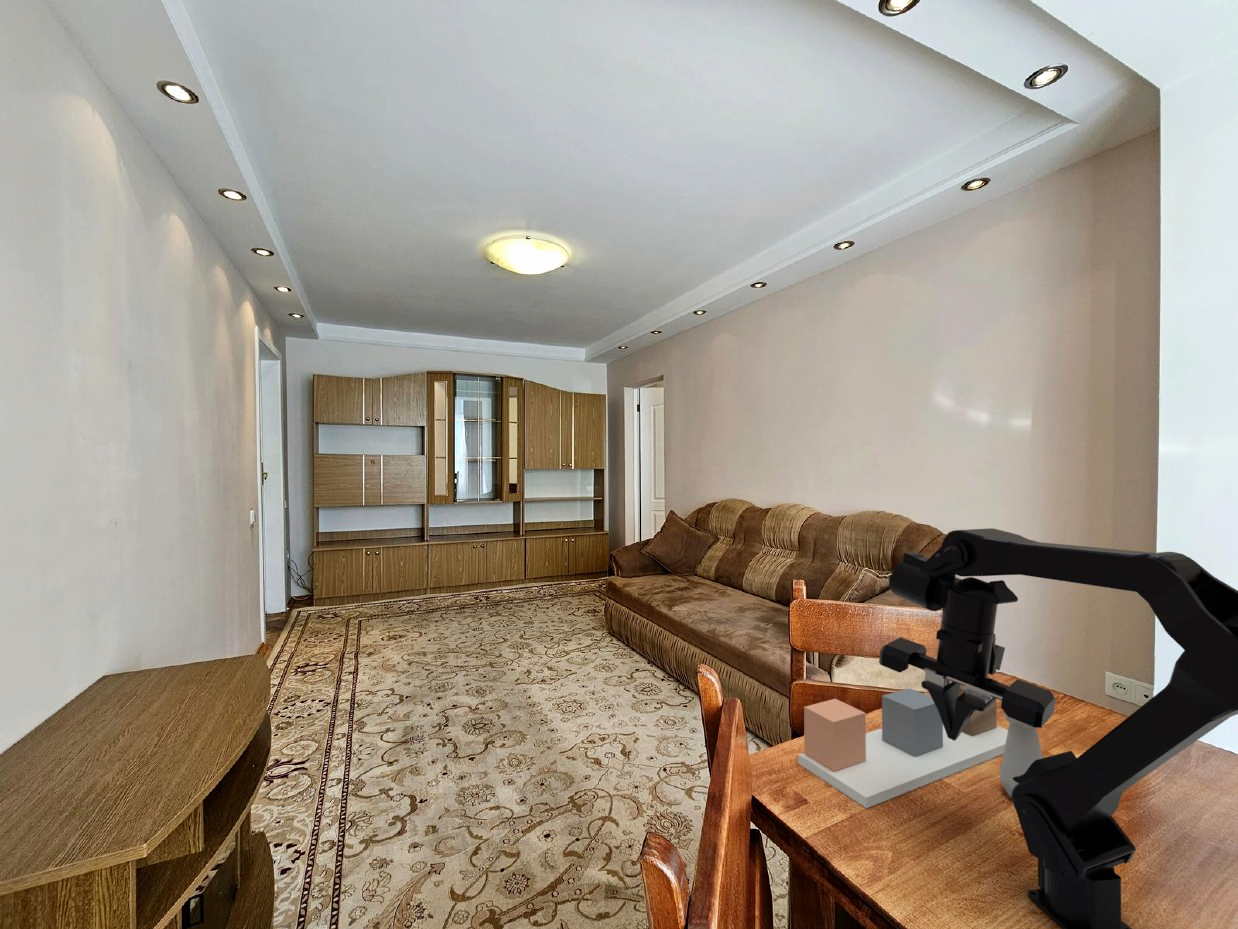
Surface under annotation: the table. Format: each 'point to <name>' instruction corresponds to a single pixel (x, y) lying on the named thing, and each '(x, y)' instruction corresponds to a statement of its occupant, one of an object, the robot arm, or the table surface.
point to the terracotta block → (835, 734)
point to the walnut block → (980, 719)
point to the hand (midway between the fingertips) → (952, 738)
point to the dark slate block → (911, 722)
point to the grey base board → (906, 765)
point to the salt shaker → (1018, 752)
